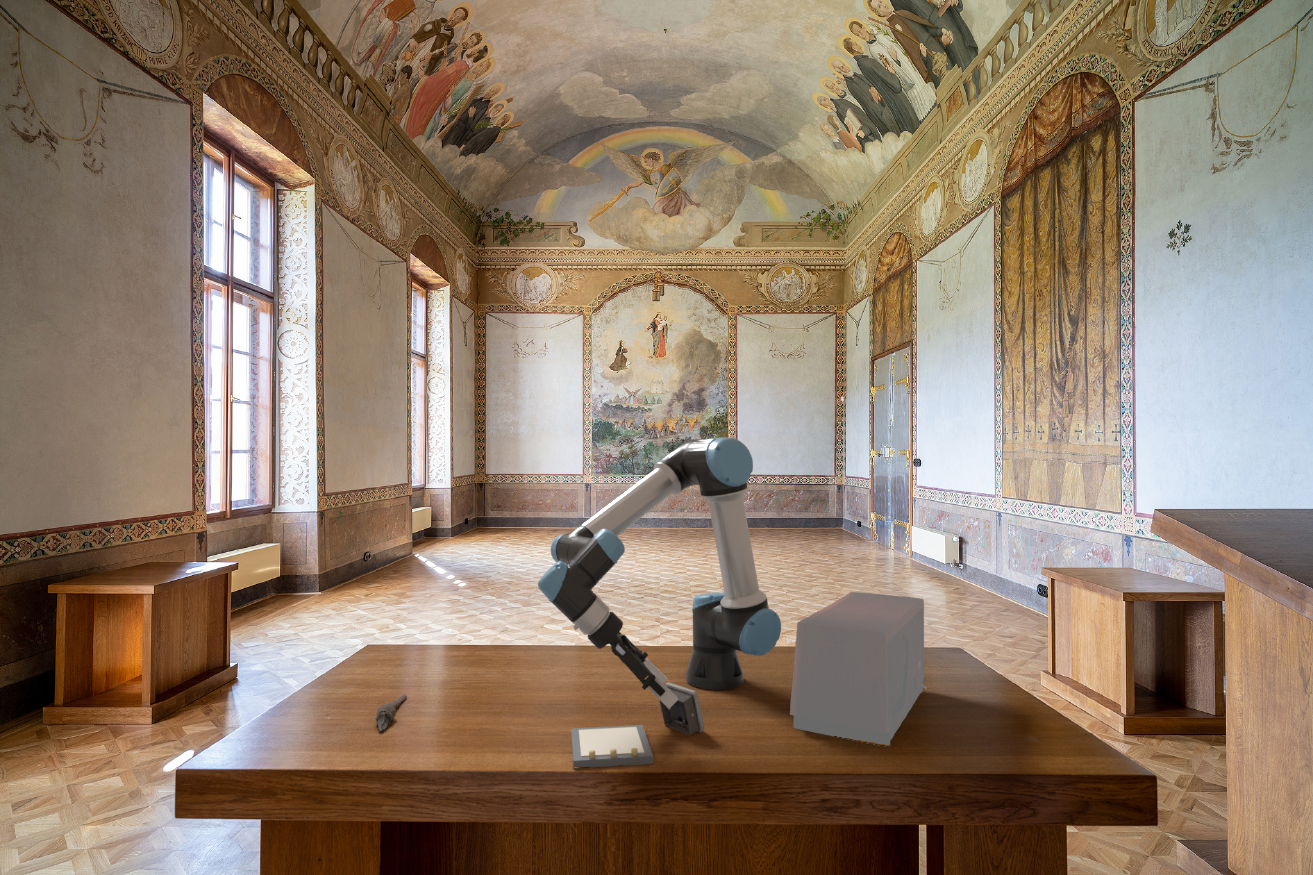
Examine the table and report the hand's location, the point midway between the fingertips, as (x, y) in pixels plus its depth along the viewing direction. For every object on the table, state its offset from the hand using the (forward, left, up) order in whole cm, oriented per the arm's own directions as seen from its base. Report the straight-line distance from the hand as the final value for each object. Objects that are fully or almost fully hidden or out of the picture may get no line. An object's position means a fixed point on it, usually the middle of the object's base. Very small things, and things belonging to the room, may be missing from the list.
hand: (668, 692), depth 142 cm
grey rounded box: (-48, -7, -8) cm, 49 cm away
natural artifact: (+60, -19, -8) cm, 64 cm away
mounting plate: (+13, +7, -8) cm, 17 cm away
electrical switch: (-3, -1, -8) cm, 9 cm away
